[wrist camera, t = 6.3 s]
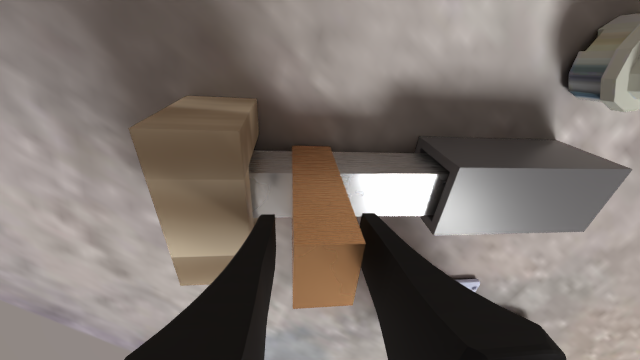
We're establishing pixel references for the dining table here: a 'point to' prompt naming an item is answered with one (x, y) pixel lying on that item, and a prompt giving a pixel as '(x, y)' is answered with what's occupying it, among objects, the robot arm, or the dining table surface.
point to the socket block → (200, 179)
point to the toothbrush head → (610, 66)
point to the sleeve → (518, 186)
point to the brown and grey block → (338, 208)
